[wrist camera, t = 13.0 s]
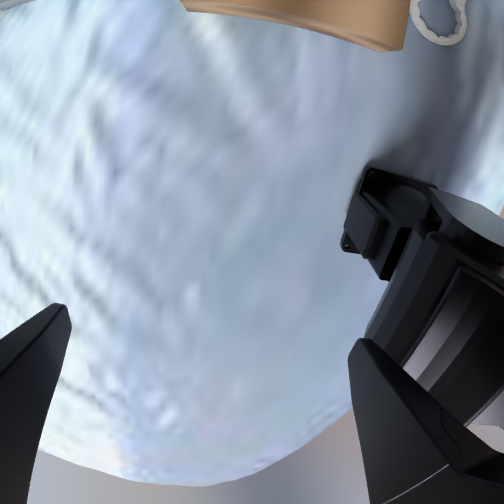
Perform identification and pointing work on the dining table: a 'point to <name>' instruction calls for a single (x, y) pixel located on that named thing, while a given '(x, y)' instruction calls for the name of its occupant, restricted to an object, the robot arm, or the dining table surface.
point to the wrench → (458, 5)
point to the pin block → (325, 17)
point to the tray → (12, 3)
